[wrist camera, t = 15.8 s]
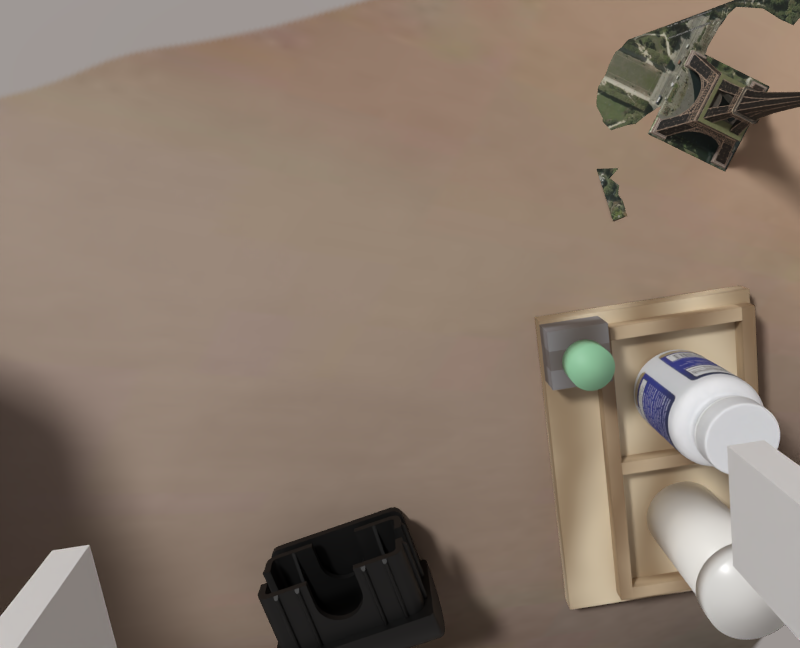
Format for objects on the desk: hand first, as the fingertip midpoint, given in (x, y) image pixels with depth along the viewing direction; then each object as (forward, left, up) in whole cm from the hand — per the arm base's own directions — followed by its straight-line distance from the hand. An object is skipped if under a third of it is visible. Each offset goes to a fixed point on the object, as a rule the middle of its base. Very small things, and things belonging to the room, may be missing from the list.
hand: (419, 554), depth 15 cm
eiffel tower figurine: (+21, +8, -32) cm, 39 cm away
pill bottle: (+17, -9, -31) cm, 36 cm away
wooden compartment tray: (+15, -13, -32) cm, 38 cm away
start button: (+11, -5, -29) cm, 32 cm away
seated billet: (+17, -18, -30) cm, 39 cm away
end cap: (-5, -19, -32) cm, 37 cm away
